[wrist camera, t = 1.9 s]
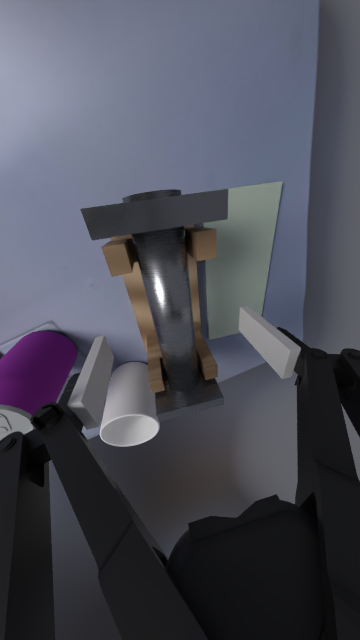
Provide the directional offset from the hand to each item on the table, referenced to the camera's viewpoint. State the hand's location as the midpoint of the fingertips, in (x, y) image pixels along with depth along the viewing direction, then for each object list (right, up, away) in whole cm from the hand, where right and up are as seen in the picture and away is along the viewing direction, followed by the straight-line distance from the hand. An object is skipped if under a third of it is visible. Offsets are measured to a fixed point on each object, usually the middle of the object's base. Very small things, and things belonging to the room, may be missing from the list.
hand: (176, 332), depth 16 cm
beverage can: (-20, -3, +10) cm, 23 cm away
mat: (+9, +8, +10) cm, 16 cm away
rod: (-1, +3, +4) cm, 5 cm away
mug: (-7, -9, +17) cm, 20 cm away
